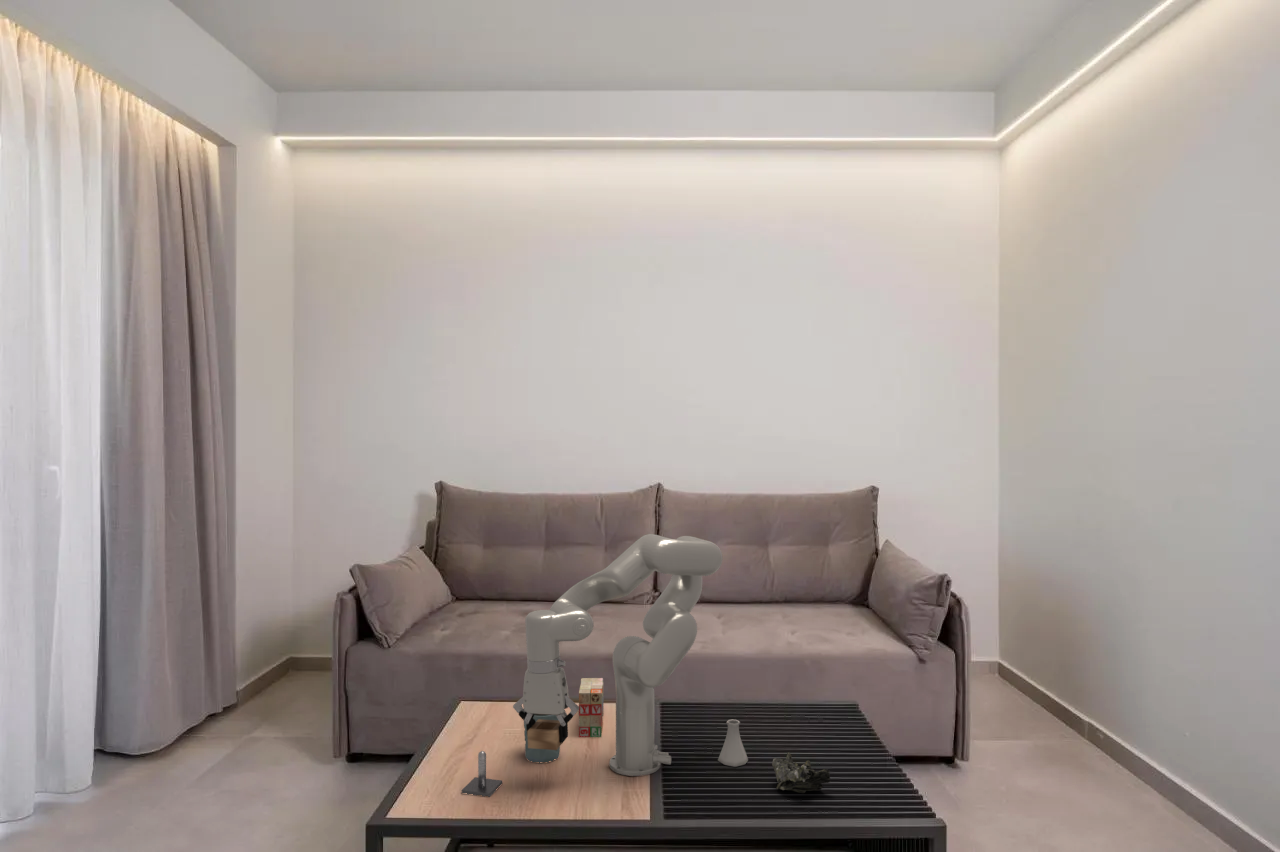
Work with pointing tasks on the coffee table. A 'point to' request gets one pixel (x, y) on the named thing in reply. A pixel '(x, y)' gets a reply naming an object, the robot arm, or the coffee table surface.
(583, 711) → the stack of blocks
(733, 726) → the flask
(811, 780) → the mineral specimen
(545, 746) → the square wooden ring
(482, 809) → the coffee table surface
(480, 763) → the peg stand
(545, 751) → the teal cup
